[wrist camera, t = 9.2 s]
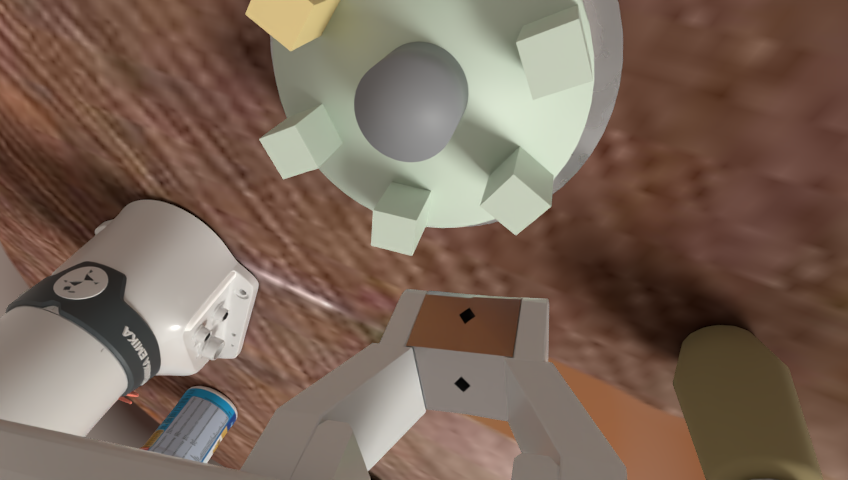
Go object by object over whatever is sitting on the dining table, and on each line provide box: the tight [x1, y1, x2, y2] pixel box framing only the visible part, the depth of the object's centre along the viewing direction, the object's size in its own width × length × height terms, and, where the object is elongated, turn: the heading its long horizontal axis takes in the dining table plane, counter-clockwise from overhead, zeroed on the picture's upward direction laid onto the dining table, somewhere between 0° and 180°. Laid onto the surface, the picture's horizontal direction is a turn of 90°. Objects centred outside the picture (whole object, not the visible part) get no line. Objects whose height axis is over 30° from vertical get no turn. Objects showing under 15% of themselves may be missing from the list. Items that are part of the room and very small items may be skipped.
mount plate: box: [270, 0, 623, 227], centre depth 31 cm, size 24×24×3 cm
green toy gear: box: [245, 0, 594, 256], centre depth 29 cm, size 21×21×6 cm
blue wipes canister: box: [140, 386, 237, 463], centre depth 60 cm, size 8×8×20 cm
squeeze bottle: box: [673, 325, 823, 480], centre depth 32 cm, size 8×8×18 cm
